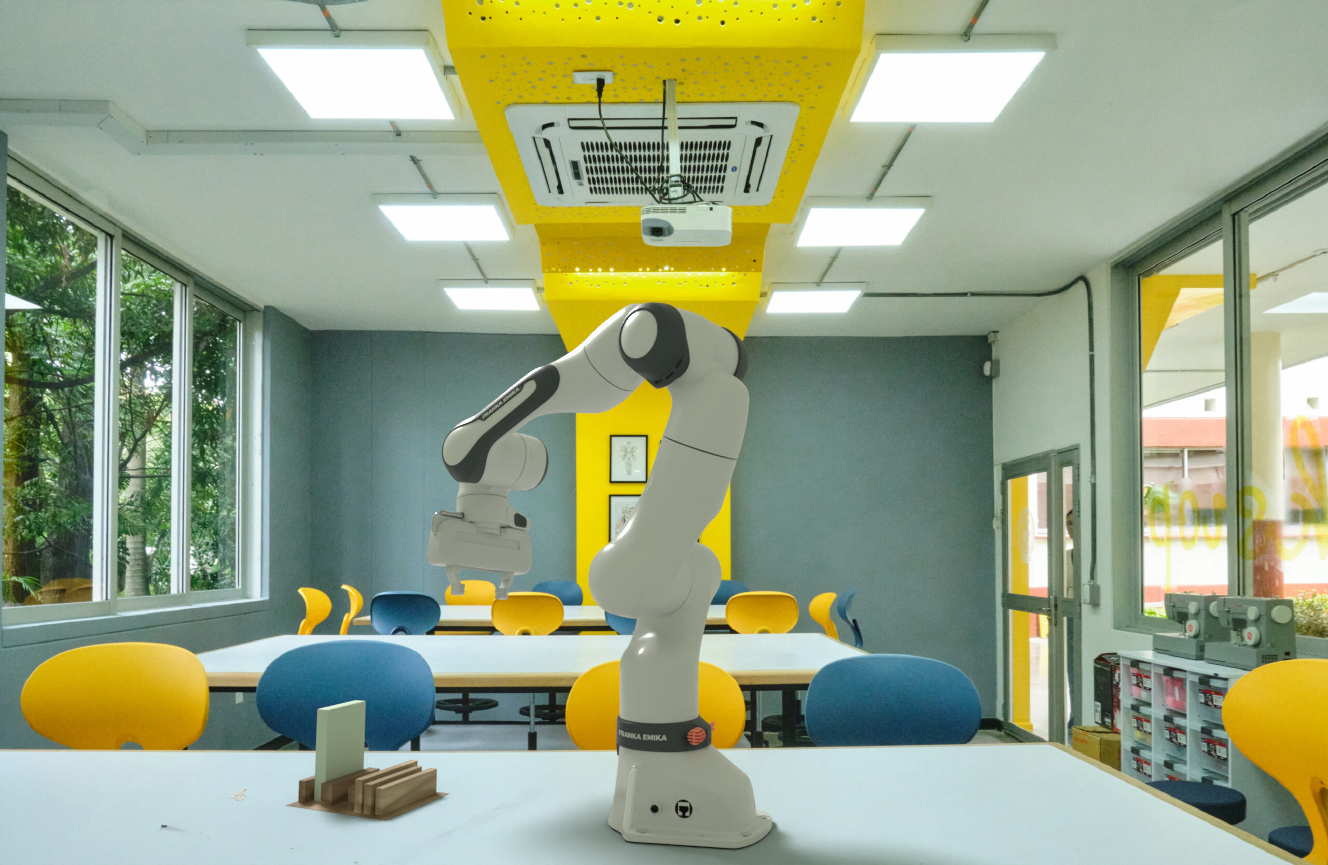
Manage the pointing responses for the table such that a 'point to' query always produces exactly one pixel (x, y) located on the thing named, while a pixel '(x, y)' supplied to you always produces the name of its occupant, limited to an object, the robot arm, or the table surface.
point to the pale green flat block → (339, 742)
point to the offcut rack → (373, 791)
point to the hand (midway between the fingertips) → (480, 597)
